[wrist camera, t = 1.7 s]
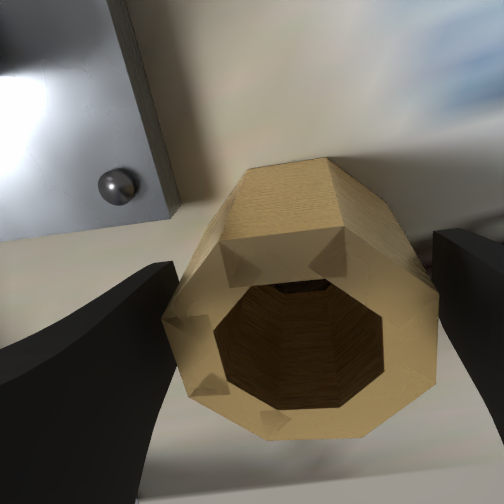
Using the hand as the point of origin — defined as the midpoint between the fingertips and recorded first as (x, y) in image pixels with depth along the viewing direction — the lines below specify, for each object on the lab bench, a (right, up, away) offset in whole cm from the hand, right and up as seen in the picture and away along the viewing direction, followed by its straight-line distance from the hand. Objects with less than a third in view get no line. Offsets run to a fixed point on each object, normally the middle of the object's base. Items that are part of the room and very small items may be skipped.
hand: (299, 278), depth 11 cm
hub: (0, +1, +2) cm, 2 cm away
